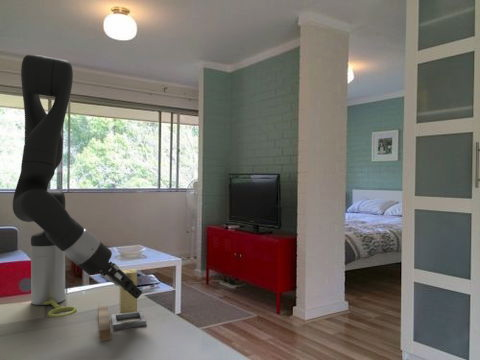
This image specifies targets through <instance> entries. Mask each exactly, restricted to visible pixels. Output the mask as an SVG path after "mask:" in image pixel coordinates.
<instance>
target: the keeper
mask: <svg viewBox="0 0 480 360" xmlns="http://www.w3.org/2000/svg"><path fill="white" fill-rule="evenodd" d="M110 317H111V318H110V319H111V320H110V321H111V326H112V330H114V331H115V330H123V329H131V328H138V327H145V326H147V320H146V319H147V318H146V316H145V315H144V312H143V310H137V312H131V313H123V314H121V313H113V314H111V315H110ZM133 318H138V319H139V320H131V321H122V322H121V321H120V322H117V320H124V319H125V320H127V319H133Z"/></svg>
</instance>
